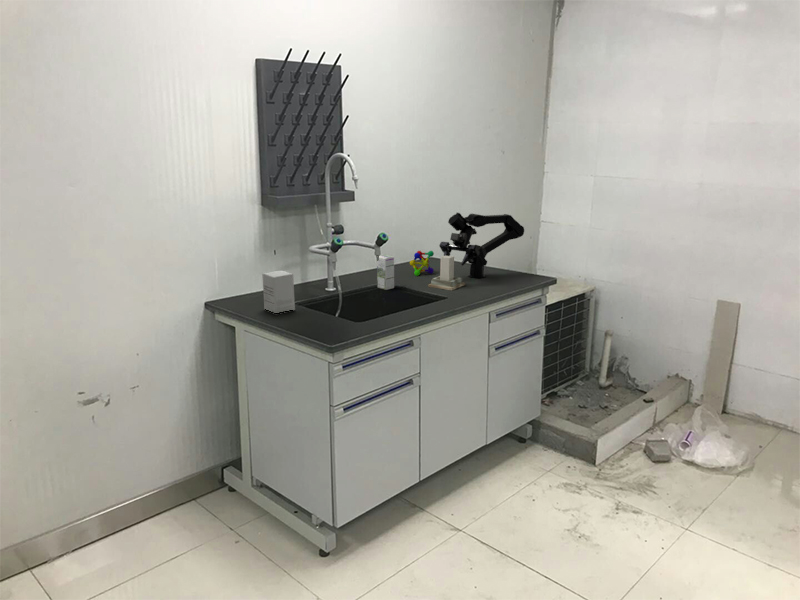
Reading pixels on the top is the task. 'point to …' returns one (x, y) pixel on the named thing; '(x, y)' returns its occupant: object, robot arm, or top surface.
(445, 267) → the fuselage block
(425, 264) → the molecular model
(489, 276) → the top surface
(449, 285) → the jig
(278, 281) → the supplement box
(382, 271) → the syrup box
